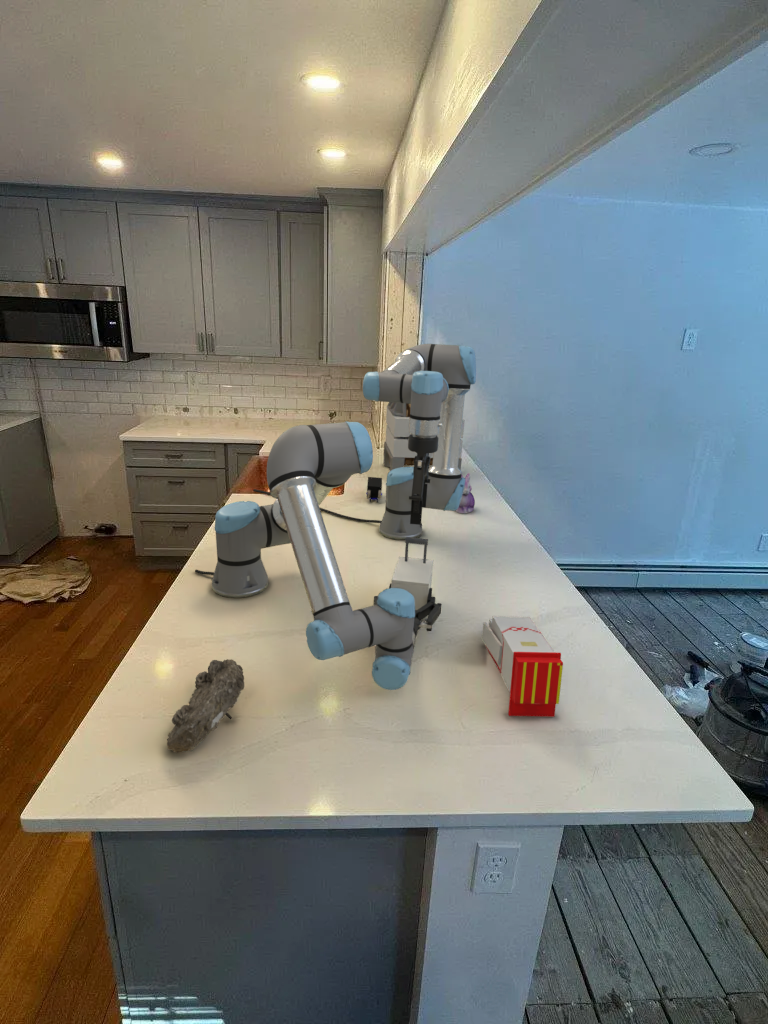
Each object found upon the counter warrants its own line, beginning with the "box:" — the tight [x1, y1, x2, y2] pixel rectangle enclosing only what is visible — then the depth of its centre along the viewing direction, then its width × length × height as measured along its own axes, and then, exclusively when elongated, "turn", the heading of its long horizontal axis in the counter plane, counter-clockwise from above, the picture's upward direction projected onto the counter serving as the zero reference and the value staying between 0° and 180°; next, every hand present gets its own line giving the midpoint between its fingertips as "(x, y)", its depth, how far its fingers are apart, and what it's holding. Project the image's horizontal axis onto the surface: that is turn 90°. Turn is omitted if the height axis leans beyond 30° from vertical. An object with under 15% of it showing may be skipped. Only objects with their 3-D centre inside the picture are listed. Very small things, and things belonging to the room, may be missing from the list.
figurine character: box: [365, 476, 383, 503], centre depth 234 cm, size 7×8×15 cm
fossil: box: [166, 658, 245, 754], centre depth 106 cm, size 22×10×15 cm
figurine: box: [455, 472, 476, 514], centre depth 224 cm, size 9×10×15 cm
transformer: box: [383, 402, 465, 472], centre depth 268 cm, size 34×33×41 cm
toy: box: [481, 615, 564, 718], centre depth 123 cm, size 12×13×30 cm
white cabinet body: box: [390, 566, 434, 621], centre depth 151 cm, size 14×10×10 cm
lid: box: [390, 537, 434, 587], centre depth 148 cm, size 15×10×8 cm, turn 171°
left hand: (410, 590), depth 147 cm, fingers closed on white cabinet body, 9 cm apart
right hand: (418, 514), depth 149 cm, fingers open, 13 cm apart
